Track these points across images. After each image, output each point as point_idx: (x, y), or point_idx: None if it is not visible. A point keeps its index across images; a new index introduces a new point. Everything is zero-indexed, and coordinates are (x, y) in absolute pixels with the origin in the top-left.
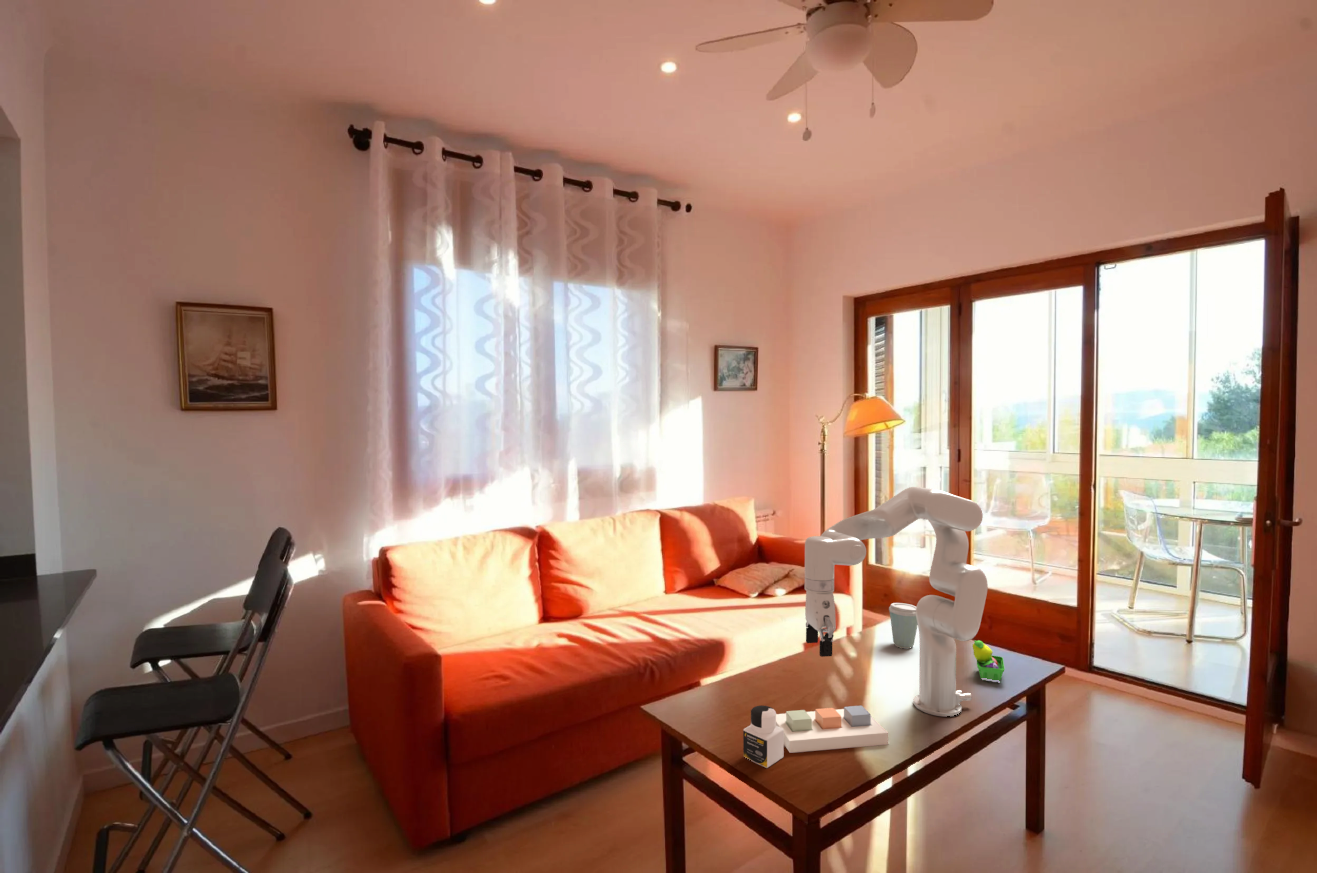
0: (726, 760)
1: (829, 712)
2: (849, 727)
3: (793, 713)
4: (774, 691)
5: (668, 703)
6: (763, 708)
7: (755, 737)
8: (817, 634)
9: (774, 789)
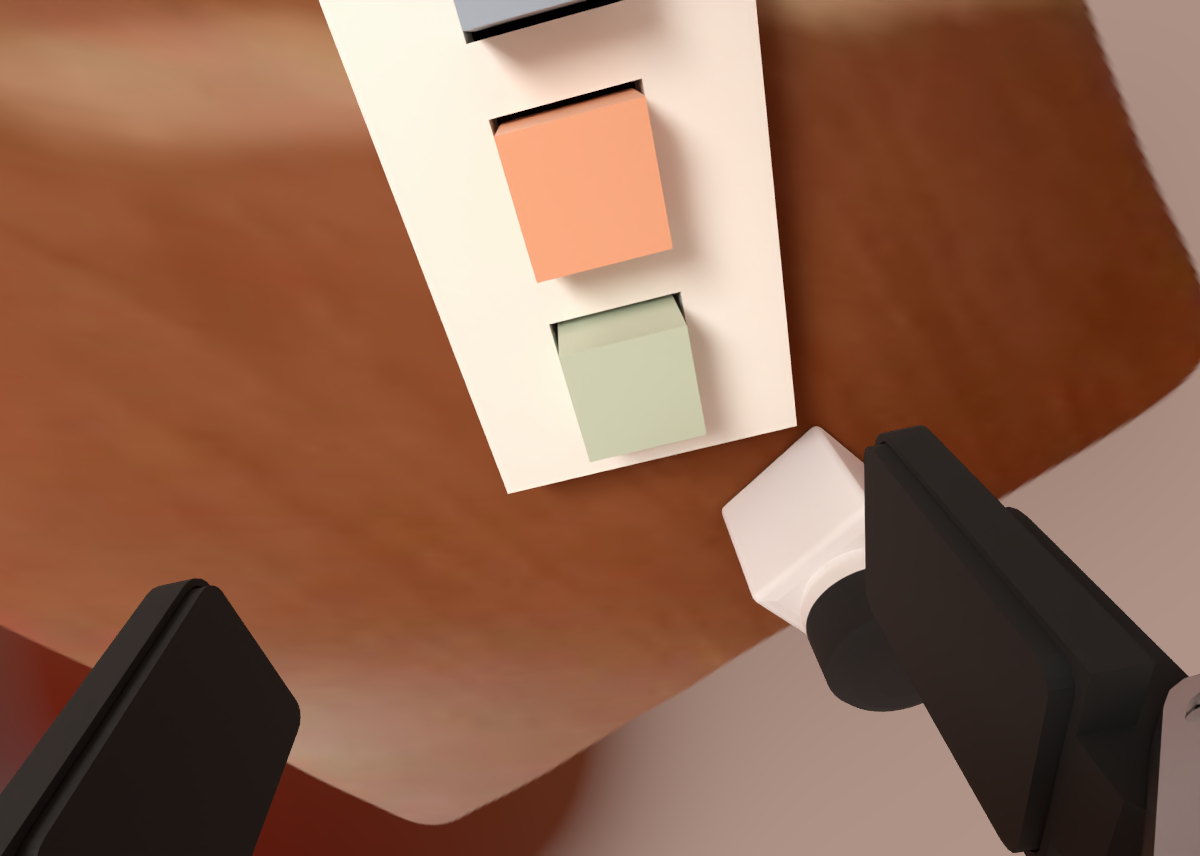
0: None
1: (583, 183)
2: (636, 21)
3: (617, 425)
4: (55, 427)
5: (383, 795)
6: (901, 676)
7: None
8: (131, 727)
9: (1041, 468)
